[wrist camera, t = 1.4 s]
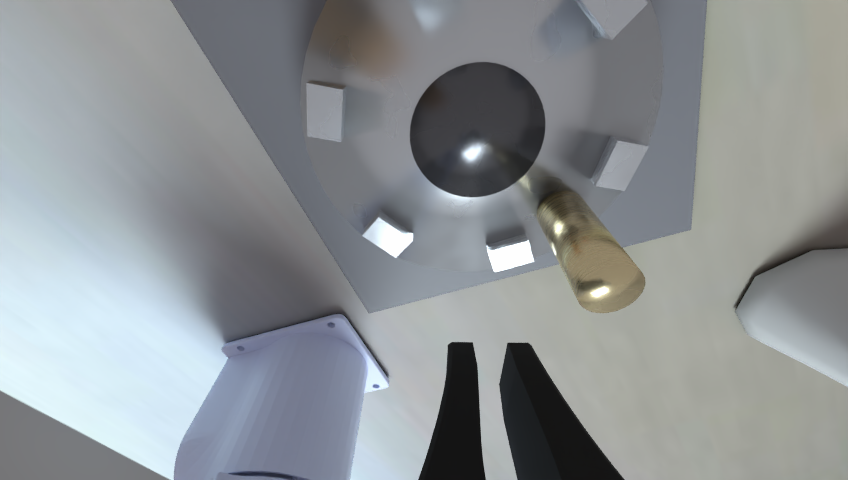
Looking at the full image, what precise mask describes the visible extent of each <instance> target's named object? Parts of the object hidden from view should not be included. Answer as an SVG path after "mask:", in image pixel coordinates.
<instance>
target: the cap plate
mask: <svg viewBox="0 0 848 480" xmlns="http://www.w3.org/2000/svg"><path fill="white" fill-rule="evenodd" d="M326 1H327V0H171V2H172V3H173V5H174V6H175V8H176V10H177V11H178V13H179V14H180V16H181V17H182V19H183V21H184V22H185V24H186V25H187V27H188V29H189V30H190V32H191V33H192V35H193V36H194V38H195V40H196V41H197V43H198V44H199V46H200V47H201V49H202V51H203V52H204V54H205V55H206V57H207V59H208V60H209V62H210V63H211V65H212V66H213V68H214V70H215V71H216V73H217V74H218V76H219V77H220V79H221V81H222V82H223V84H224V85H225V87H226V89H227V90H228V92H229V93H230V95H231V96H232V98H233V100H234V101H235V103H236V104H237V106H238V107H239V109H240V111H241V112H242V114H243V115H244V117H245V119H246V120H247V122H248V123H249V125H250V126H251V128H252V130H253V131H254V133H255V134H256V136H257V137H258V139H259V141H260V142H261V144H262V145H263V147H264V149H265V150H266V152H267V153H268V155H269V156H270V158H271V160H272V161H273V163H274V164H275V166H276V167H277V169H278V171H279V172H280V174H281V175H282V177H283V179H284V180H285V182H286V183H287V185H288V186H289V188H290V190H291V191H292V193H293V194H294V196H295V197H296V199H297V201H298V202H299V204H300V205H301V207H302V209H303V210H304V212H305V213H306V215H307V216H308V218H309V220H310V221H311V223H312V224H313V226H314V227H315V229H316V231H317V232H318V234H319V235H320V237H321V239H322V240H323V242H324V243H325V245H326V246H327V248H328V250H329V251H330V253H331V254H332V256H333V257H334V259H335V261H336V262H337V264H338V265H339V267H340V269H341V270H342V272H343V273H344V275H345V276H346V278H347V280H348V281H349V283H350V284H351V286H352V287H353V289H354V291H355V292H356V294H357V295H358V297H359V299H360V300H361V302H362V303H363V305H364V306H365V308H366V310H367V311H368V313H373V312H377V311H381V310H384V309H388V308H392V307H396V306H400V305H404V304H407V303H411V302H415V301H419V300H423V299H427V298H431V297H434V296H438V295H442V294H446V293H450V292H454V291H457V290H461V289H465V288H469V287H473V286H477V285H480V284H484V283H488V282H492V281H496V280H500V279H504V278H507V277H511V276H515V275H519V274H523V273H527V272H530V271H534V270H538V269H542V268H546V267H550V266H553V265H557V264H559V262H558V260H557V258H556V256H555V254H554V252H553V250H551V251H550V252H548V253H545V254H543V255H541V256H538V257H536V258H534V259H533V260H534V262H531V263H527V264H523V265H519V266H516V267H512V268H508V269H504V270H501V271H497V272H494V270H484V271H449V270H440V269H435V268H430V267H425V266H422V265H419V264H415V263H412V262H409V261H406V260H404V259H402V258H399V257H396V258H395V257H394V256H392V255H391V254H389V253H388V252H386V251H385V250H383V249H382V248H380V247H378V246H377V245H375V244H374V243H372V242H371V241H369V240H368V239H366V238H365V237H363V236H362V234H360V233H359V232H358V231H357V230H356V229H355V228H354V227H353V226H352V225H351V224H350V223H349V222H348V221H347V220H346V219H345V218H344V217H343V216H342V214H341V213H340V212H339V211H338V210H337V209H336V207H335V206H334V205H333V203H332V202H331V200H330V199H329V197H328V195H327V194H326V192H325V191H324V189H323V187H322V185H321V183H320V181H319V179H318V177H317V175H316V173H315V171H314V168H313V166H312V163H311V160H310V157H309V154H308V151H307V147H306V143H305V138H304V133H303V129H302V118H301V106H300V100H301V79H302V73H303V67H304V61H305V56H306V52H307V48H308V45H309V42H310V39H311V36H312V33H313V29H314V27H315V24H316V22H317V20H318V18H319V16H320V14H321V12H322V10H323V7H324V5H325V3H326ZM650 1H651V4H652V6H653V9H654V12H655V15H656V17H657V22H658V27H659V32H660V36H661V41H662V51H663V69H664V72H663V85H662V97H661V101H660V106H659V111H658V116H657V120H656V124H655V127H654V130H653V132H652V135H651V138H650V141H649V144H648V146H649V147H648V149H647V151H646V153H645V155H644V157H643V158H642V160H641V162H640V164H639V166H638V168H637V169H636V171H635V173H634V175H633V177H632V179H631V180H630V182H629V184H628V186H627V188H626V189H625V191H621V192H620V194H619V195H618V196H617V197H616V199H615V200H614V201H613V203H612V204H611V205H610V206H609V207H608V208H607V209H606V210H605V211H604V212H603V213H602V214H601V215H600V216H599V217H598V218H599V219H600V221H601V222H602V223H603V224H604V226H605V227H606V228H607V229H608V231H609V232H610V233H611V234H612V236H613V237H614V238H615V239H616V241H617V242H618V243H619V244H620V246H621V247H622V248H623V247H626V246H630V245H634V244H638V243H642V242H646V241H649V240H653V239H657V238H661V237H665V236H669V235H672V234H676V233H680V232H684V231H688V230H691V224H692V209H693V195H694V180H695V166H696V151H697V137H698V123H699V108H700V94H701V79H702V65H703V50H704V36H705V21H706V7H707V0H650Z"/></svg>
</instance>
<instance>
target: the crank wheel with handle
mask: <svg viewBox="0 0 848 480" xmlns="http://www.w3.org/2000/svg"><path fill="white" fill-rule="evenodd" d="M663 72H664V69H663V51H662V41H661V36H660V32H659V27H658V22H657V17H656V15H655V12H654V9H653V6H652V4H651V1H650V0H327V1H326V3H325V5H324V7H323V10H322V12H321V14H320V16H319V18H318V20H317V22H316V24H315V27H314V29H313V33H312V36H311V39H310V42H309V45H308V48H307V52H306V56H305V61H304V67H303V73H302V79H301V100H300V106H301V118H302V129H303V133H304V138H305V143H306V147H307V151H308V154H309V157H310V160H311V163H312V166H313V168H314V171H315V173H316V175H317V177H318V179H319V181H320V183H321V185H322V187H323V189H324V191H325V192H326V194H327V195H328V197H329V199H330V200H331V202H332V203H333V205H334V206H335V207H336V209H337V210H338V211H339V212H340V213H341V214H342V216H343V217H344V218H345V219H346V220H347V221H348V222H349V223H350V224H351V225H352V226H353V227H354V228H355V229H356V230H357V231H358V232H359V233H360V234H362V236H363V237H365V238H366V239H368V240H369V241H371V242H372V243H374V244H375V245H377V246H378V247H380V248H382V249H383V250H385V251H386V252H388V253H389V254H391V255H392V256H394V257H395V258H396V257H399V258H402V259H404V260H406V261H409V262H412V263H415V264H419V265H422V266H425V267H430V268H435V269H440V270H449V271H484V270H494V272H497V271H501V270H504V269H508V268H512V267H516V266H519V265H523V264H527V263H531V262H534V260H533V259H534V258H536V257H538V256H541V255H543V254H545V253H548V252H550V251H551V250H553V252H554V254H555V256H556V258H557V260H558V262H559V264H560V266H561V268H562V270H563V272H564V274H565V276H566V278H567V280H568V282H569V284H570V286H571V288H572V290H573V292H574V294H575V296H576V298H577V300H578V302H579V304H580V305H581V306H582V307H583V308H585V309H586V310H588V311H591V312H595V313H609V312H614V311H617V310H620V309H622V308H625V307H626V306H628V305H630V304H631V303H633V302H634V301H635V300H636V299H637V298H638V297H639V296H640V295H641V293H642V292H643V289H644V287H645V277H644V275H643V273H642V272H641V271H640V269H639V268H638V267H637V266H636V264H635V263H634V262H633V261H632V259H631V258H630V257H629V256H628V254H627V253H626V252H625V251H624V249H623V248H622V247H621V246H620V244H619V243H618V242H617V241H616V239H615V238H614V237H613V236H612V234H611V233H610V232H609V231H608V229H607V228H606V227H605V226H604V224H603V223H602V222H601V221H600V219H599V218H598V217H599V216H600V215H601V214H602V213H603V212H604V211H605V210H606V209H607V208H608V207H609V206H610V205H611V204H612V203H613V201H614V200H615V199H616V197H617V196H618V195H619V194H620V192H621V191H625V189H626V188H627V186H628V184H629V182H630V180H631V179H632V177H633V175H634V173H635V171H636V169H637V168H638V166H639V164H640V162H641V160H642V158H643V157H644V155H645V153H646V151H647V149H648V147H649V146H648V144H649V141H650V138H651V135H652V132H653V130H654V127H655V124H656V120H657V116H658V111H659V106H660V101H661V97H662V85H663Z"/></svg>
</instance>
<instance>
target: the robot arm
mask: <svg viewBox="0 0 848 480" xmlns="http://www.w3.org/2000/svg"><path fill="white" fill-rule="evenodd" d="M330 322H332V323H330ZM222 352H223V353H224V354H225V355H226V356H227V357H228V360H227V362H226V364H225V365H224V367H223V369H222V371H221V372H220V374H219V376H218V378H217V379H216V381H215V383H214V385H213V386H212V388H211V390H210V392H209V393H208V395H207V397H206V399H205V400H204V402H203V404H202V406H201V407H200V409H199V411H198V413H197V414H196V416H195V418H194V420H193V421H192V423H191V425H190V427H189V428H188V430H187V432H186V434H185V435H184V438H183V440H182V442H181V444H180V447H179V450H178V453H177V457H176V461H175V469H174V480H350V475H351V469H352V464H353V458H354V452H355V446H356V440H357V434H358V428H359V422H360V416H361V410H362V404H363V398H364V393H365V392H370V391H375V390H379V389H384V388H387V387H388V386H389V379H388V378H387V376H386V375H385V373H384V372H383V370H382V369H381V368H380V366H379V365H378V363H377V362H376V360H375V359H374V357H373V356H372V355H371V353H370V352H369V350H368V349H367V347H366V346H365V344H364V343H363V341H362V340H361V339H360V337H359V336H358V334H357V333H356V331H355V330H354V328H353V327H352V326H351V324H350V323H349V321H348V320H347V318H346V317H345V316H344V315H342V314H334V315H330V316H327V317H323V318H319V319H315V320H312V321H308V322H304V323H300V324H297V325H293V326H289V327H285V328H281V329H278V330H274V331H270V332H266V333H263V334H259V335H255V336H251V337H248V338H244V339H240V340H236V341H233V342H229V343H226V344H224V346H223V347H222ZM499 385H500V393H501V402H502V409H503V417H504V423H505V427H506V431H507V436H508V440H509V445H510V449H511V453H512V458H513V462H514V466H515V470H516V475H517V479H518V480H624V478H623V477H622V476H621V475H620V474H619V472H618V471H617V470H616V469H615V467H614V466H613V465H612V464H611V462H610V461H609V460H608V459H607V457H606V456H605V455H604V453H603V452H602V451H601V450H600V448H599V447H598V446H597V444H596V443H595V442H594V440H593V439H592V438H591V436H590V435H589V434H588V432H587V431H586V429H585V428H584V427H583V425H582V424H581V423H580V421H579V420H578V418H577V417H576V415H575V414H574V413H573V411H572V410H571V408H570V407H569V405H568V404H567V402H566V401H565V399H564V398H563V396H562V395H561V393H560V392H559V390H558V389H557V387H556V386H555V384H554V383H553V381H552V379H551V378H550V376H549V375H548V373H547V371H546V370H545V368H544V367H543V365H542V363H541V362H540V360H539V358H538V356H537V355H536V353H535V351H534V349H533V348H532V346H531V345H530V344H529V343H508V344H507V349H506V354H505V359H504V364H503V369H502V374H501V379H500V384H499ZM418 480H486V479H485V472H484V465H483V457H482V446H481V430H480V410H479V389H478V370H477V362H476V357H475V352H474V347H473V342H452V343H450V344H449V345H448V355H447V373H446V381H445V387H444V392H443V396H442V401H441V405H440V410H439V414H438V418H437V422H436V425H435V429H434V432H433V436H432V439H431V443H430V446H429V449H428V453H427V456H426V459H425V462H424V465H423V468H422V471H421V474H420V477H419V479H418Z"/></svg>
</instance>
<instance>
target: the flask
mask: <svg viewBox="0 0 848 480" xmlns="http://www.w3.org/2000/svg"><path fill="white" fill-rule="evenodd" d="M735 312H736V314H737V316H738V318H739V320H740V322H741V324H742V325H743V327H744V329H745V331H746V333H747V335H749V336H751V337H753V338H754V339H756V340H758V341H760V342H762V343H764V344H766V345H768V346H770V347H772V348H774V349H776V350H778V351H780V352H782V353H784V354H786V355H788V356H790V357H792V358H794V359H796V360H798V361H800V362H802V363H804V364H806V365H808V366H810V367H812V368H813V369H815V370H817V371H819V372H821V373H823V374H825V375H827V376H828V377H830V378H832V379H834V380H836V381H838V382H840V383H841V384H843V385H845V386H847V387H848V248H845V249H826V250H812V251H810V252H808V253H806V254H804V255H801V256H799V257H797V258H795V259H793V260H790V261H788V262H786V263H784V264H782V265H779V266H777V267H775V268H773V269H771V270H768V271H766V272H764V273H762V274H760V275H757V276H755V278H754V280H753V281H752V283H751V285H750V287H749V288H748V290H747V292H746V293H745V295H744V297H743V299H742V300H741V302H740V304H739V305H738V307H737V309H736V311H735Z"/></svg>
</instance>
